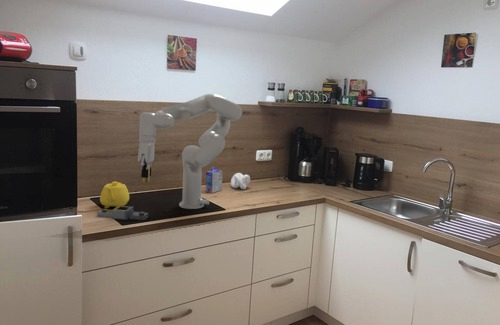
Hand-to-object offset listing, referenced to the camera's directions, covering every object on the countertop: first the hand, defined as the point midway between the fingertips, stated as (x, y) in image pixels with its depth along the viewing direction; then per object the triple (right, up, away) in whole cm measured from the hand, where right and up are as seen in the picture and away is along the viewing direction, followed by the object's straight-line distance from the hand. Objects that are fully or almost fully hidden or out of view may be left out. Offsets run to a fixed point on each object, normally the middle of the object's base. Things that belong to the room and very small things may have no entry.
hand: (146, 176), depth 199 cm
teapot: (-18, -16, +9) cm, 25 cm away
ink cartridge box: (+28, -10, +50) cm, 58 cm away
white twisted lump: (+44, -10, +60) cm, 75 cm away
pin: (0, -3, +1) cm, 3 cm away
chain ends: (-9, -18, -6) cm, 22 cm away
